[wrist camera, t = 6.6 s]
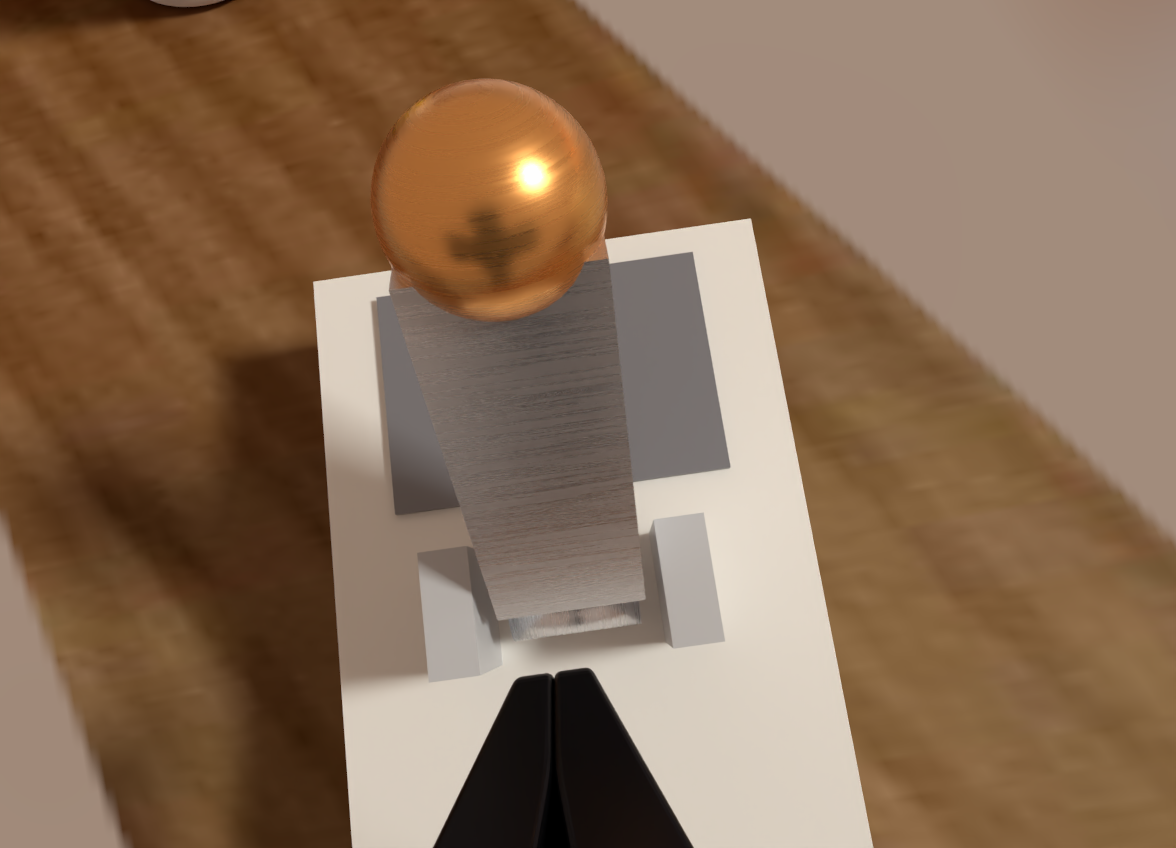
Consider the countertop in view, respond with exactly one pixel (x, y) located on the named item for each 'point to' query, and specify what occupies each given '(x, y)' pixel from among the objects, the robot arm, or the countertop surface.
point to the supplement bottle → (186, 2)
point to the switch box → (669, 561)
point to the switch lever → (516, 345)
